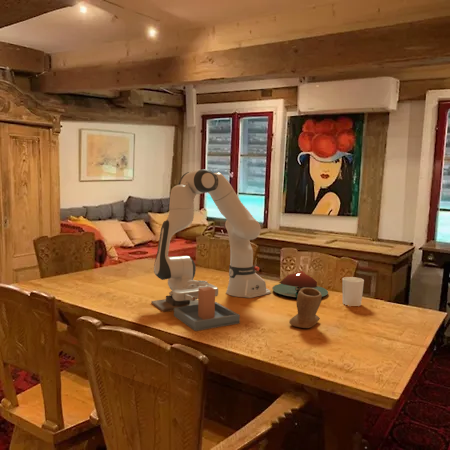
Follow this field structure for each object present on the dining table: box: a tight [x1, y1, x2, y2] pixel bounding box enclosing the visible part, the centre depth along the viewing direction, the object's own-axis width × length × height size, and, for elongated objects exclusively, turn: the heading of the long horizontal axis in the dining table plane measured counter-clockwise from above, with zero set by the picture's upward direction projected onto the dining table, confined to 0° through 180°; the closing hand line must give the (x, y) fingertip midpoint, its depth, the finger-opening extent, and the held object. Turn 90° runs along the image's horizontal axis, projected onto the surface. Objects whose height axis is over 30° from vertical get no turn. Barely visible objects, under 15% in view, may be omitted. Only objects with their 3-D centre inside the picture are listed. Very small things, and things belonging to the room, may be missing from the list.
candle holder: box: [342, 276, 365, 307], centre depth 219 cm, size 10×10×12 cm
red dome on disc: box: [272, 270, 329, 298], centre depth 236 cm, size 28×28×11 cm
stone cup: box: [288, 288, 323, 329], centre depth 189 cm, size 15×12×15 cm
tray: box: [173, 301, 241, 332], centre depth 192 cm, size 20×20×4 cm
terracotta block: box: [197, 287, 216, 320], centre depth 192 cm, size 5×5×12 cm
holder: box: [150, 294, 198, 313], centre depth 212 cm, size 20×14×4 cm
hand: (203, 297), depth 194 cm, fingers open, 8 cm apart
